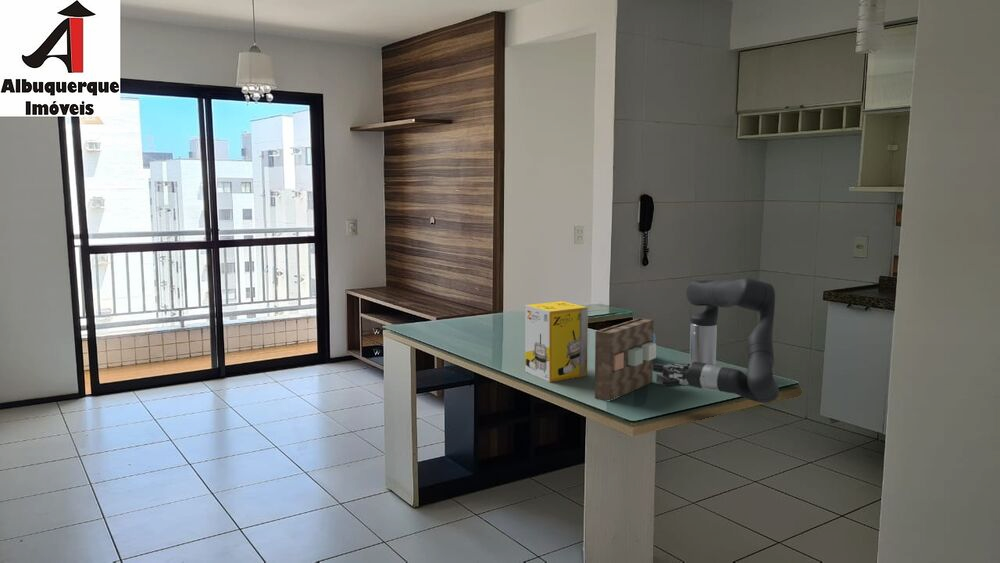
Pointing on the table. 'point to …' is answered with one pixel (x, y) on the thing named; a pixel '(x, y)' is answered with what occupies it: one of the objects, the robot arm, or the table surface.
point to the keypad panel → (620, 341)
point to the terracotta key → (618, 361)
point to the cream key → (649, 351)
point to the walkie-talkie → (670, 381)
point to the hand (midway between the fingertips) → (654, 367)
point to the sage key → (635, 356)
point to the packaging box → (556, 340)
